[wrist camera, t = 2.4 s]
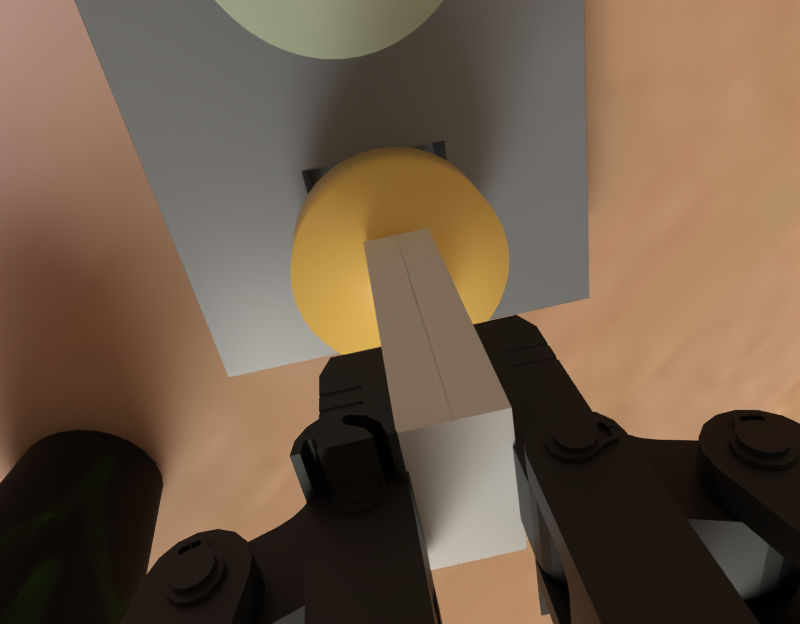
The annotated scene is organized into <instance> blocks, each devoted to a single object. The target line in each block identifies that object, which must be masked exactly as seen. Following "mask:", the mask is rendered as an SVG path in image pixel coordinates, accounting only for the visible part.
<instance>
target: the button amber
mask: <svg viewBox="0 0 800 624" xmlns="http://www.w3.org/2000/svg"><path fill="white" fill-rule="evenodd" d="M425 228H428V229H429V231H430V233H431V235H432V237H433V240H434V242H435V244H436V246H437V248H438V250H439V252H440V255H441V257H442V259H443V261H444V263H445V265H446V268H447V270H448V272H449V274H450V276H451V278H452V280H453V283H454V285H455V287H456V289H457V291H458V293H459V295H460V298H461V300H462V302H463V304H464V306H465V308H466V311H467V313H468V315H469V317H470V319H471V321H472V323H473V324H477V323H482V322H486V321H488V320H489V319H490V317H491V316H492V315H493V313H494V312H495V310H496V308H497V306H498V304H499V303H500V300H501V298H502V295H503V293H504V290H505V286H506V282H507V278H508V270H509V250H508V244H507V239H506V236H505V233H504V230H503V227H502V225H501V223H500V221H499V219H498V217H497V215H496V213H495V212H494V210H493V209H492V207H491V206H490V205H489V203H488V202H487V201H486V199H485V198H484V197H483V196H482V194H481V193H480V192H479V191H478V190H477V188H476V187H475V186H474V185H473V183H472V182H471V181H470V180H469V179H468V178H467V177H466V176H465V174H464V173H463V172H462V171H460V170H459V169H458V168H457V167H455V166H454V165H453V164H451V163H450V162H448V161H446V160H445V159H443V158H441V157H439V156H437V155H434V154H432V153H430V152H426V151H423V150H419V149H415V148H406V147H385V148H378V149H372V150H369V151H365V152H362V153H359V154H357V155H354V156H352V157H350V158H348V159H346V160H344V161H343V162H341V163H339V164H338V165H336V166H335V167H333V168H332V169H331V170H330V171H328V172H327V173H326V174H325V175H324V176H323V177H322V178H321V179H320V180H319V181H318V182H317V183H316V184H315V185H314V187H313V188H312V189H311V191H310V192H309V194H308V195H307V197H306V199H305V201H304V203H303V204H302V206H301V209H300V212H299V214H298V217H297V221H296V226H295V230H294V239H293V248H292V258H291V272H290V274H291V286H292V290H293V295H294V299H295V302H296V304H297V307H298V309H299V312H300V313H301V315H302V317H303V319H304V320H305V322H306V323H307V325H308V326H309V327H310V329H311V330H312V331H313V333H314V334H315V335H316V336H317V337H319V338H320V339H321V340H322V341H323V342H324V343H325V344H327V345H328V346H329V347H331V348H332V349H333V350H335V351H337V352H339V353H340V354H342V355H345V354H349V353H354V352H359V351H363V350H368V349H372V348H377V347H381V342H380V336H379V330H378V325H377V319H376V313H375V307H374V301H373V295H372V290H371V284H370V278H369V272H368V266H367V260H366V255H365V249H364V243H363V242H365V241H370V240H375V239H379V238H384V237H388V236H393V235H398V234H402V233H407V232H412V231H416V230H421V229H425Z"/></svg>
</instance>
